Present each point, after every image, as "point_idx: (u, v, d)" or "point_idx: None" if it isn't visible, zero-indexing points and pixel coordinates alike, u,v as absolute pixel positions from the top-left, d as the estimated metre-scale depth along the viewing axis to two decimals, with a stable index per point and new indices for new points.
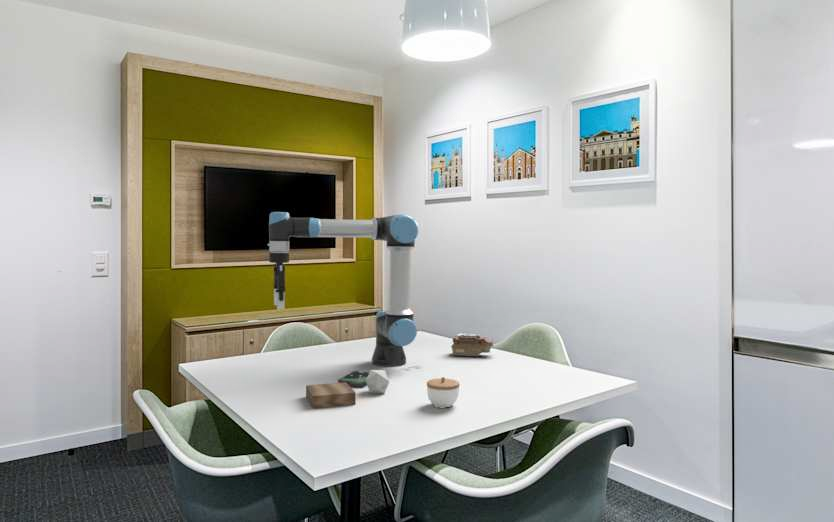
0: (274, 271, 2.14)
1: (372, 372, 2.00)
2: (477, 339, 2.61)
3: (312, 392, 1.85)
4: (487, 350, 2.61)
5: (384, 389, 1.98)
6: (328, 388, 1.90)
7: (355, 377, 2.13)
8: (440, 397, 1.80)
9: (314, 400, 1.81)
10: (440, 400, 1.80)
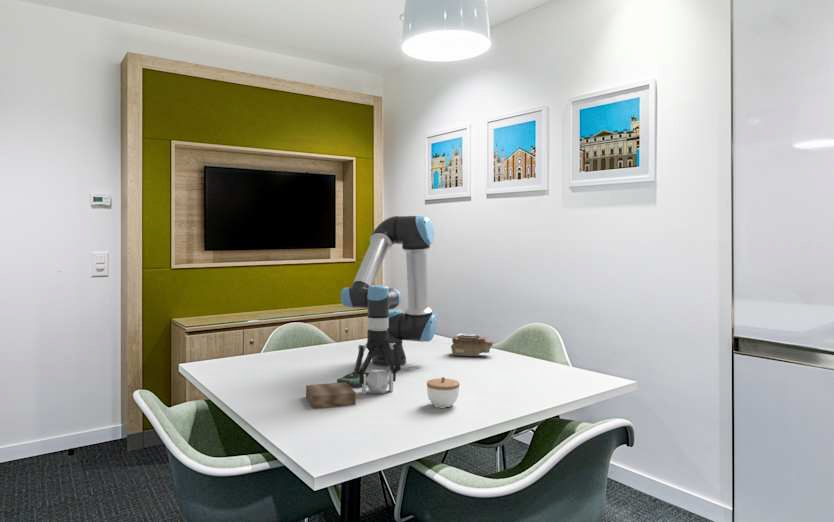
0: None
1: (372, 372, 2.00)
2: (476, 339, 2.60)
3: (312, 392, 1.85)
4: (486, 350, 2.60)
5: (384, 389, 1.98)
6: (328, 388, 1.90)
7: (355, 377, 2.13)
8: (440, 397, 1.80)
9: (314, 400, 1.81)
10: (440, 400, 1.80)
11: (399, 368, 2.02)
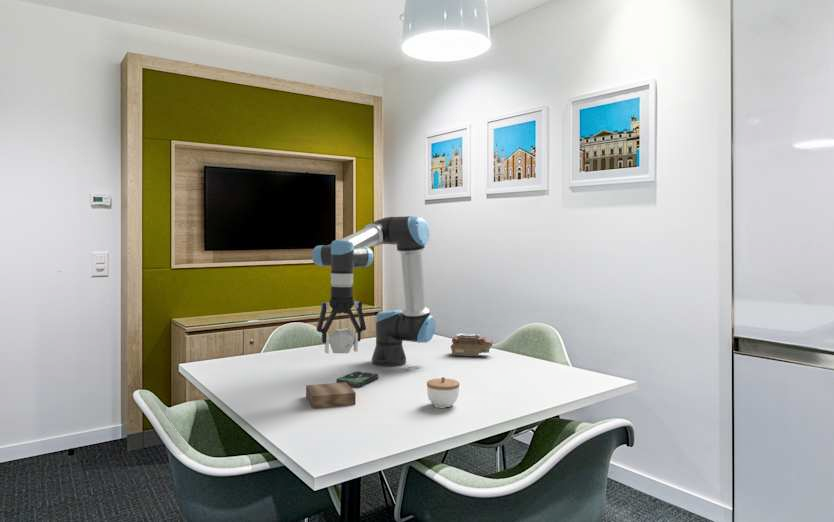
0: None
1: (335, 331, 1.90)
2: (476, 339, 2.60)
3: (312, 392, 1.85)
4: (486, 350, 2.60)
5: (348, 348, 1.89)
6: (328, 388, 1.90)
7: (354, 377, 2.13)
8: (440, 397, 1.80)
9: (314, 400, 1.81)
10: (440, 400, 1.80)
11: (364, 327, 1.92)
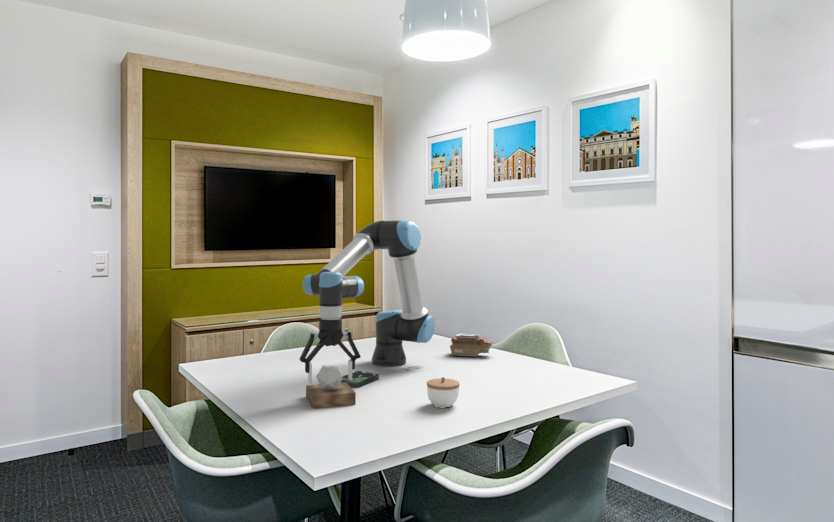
0: None
1: (323, 367, 1.88)
2: (475, 339, 2.60)
3: (312, 392, 1.85)
4: (485, 350, 2.60)
5: (336, 385, 1.87)
6: None
7: (354, 377, 2.13)
8: (440, 397, 1.80)
9: (314, 400, 1.81)
10: (440, 400, 1.80)
11: (358, 355, 1.91)
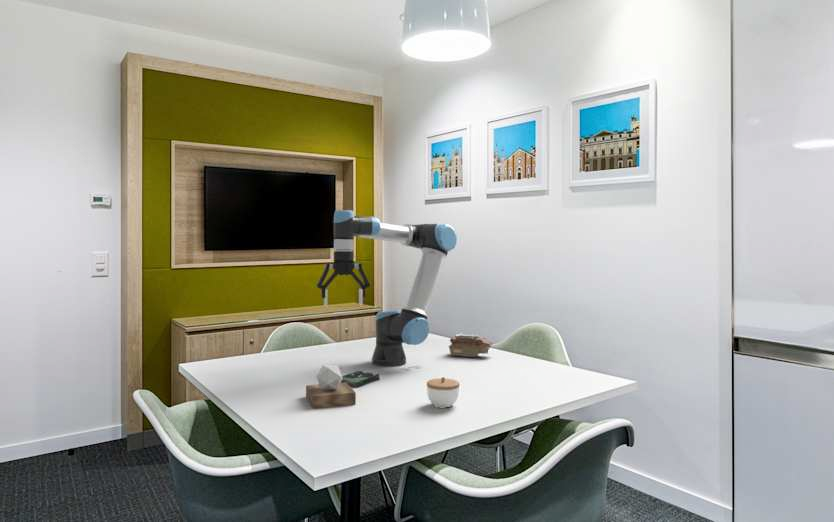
0: None
1: (323, 367, 1.88)
2: (474, 340, 2.59)
3: (312, 392, 1.85)
4: (484, 351, 2.58)
5: (336, 385, 1.87)
6: None
7: (354, 377, 2.13)
8: (440, 397, 1.80)
9: (314, 400, 1.81)
10: (440, 400, 1.80)
11: (368, 284, 2.17)
